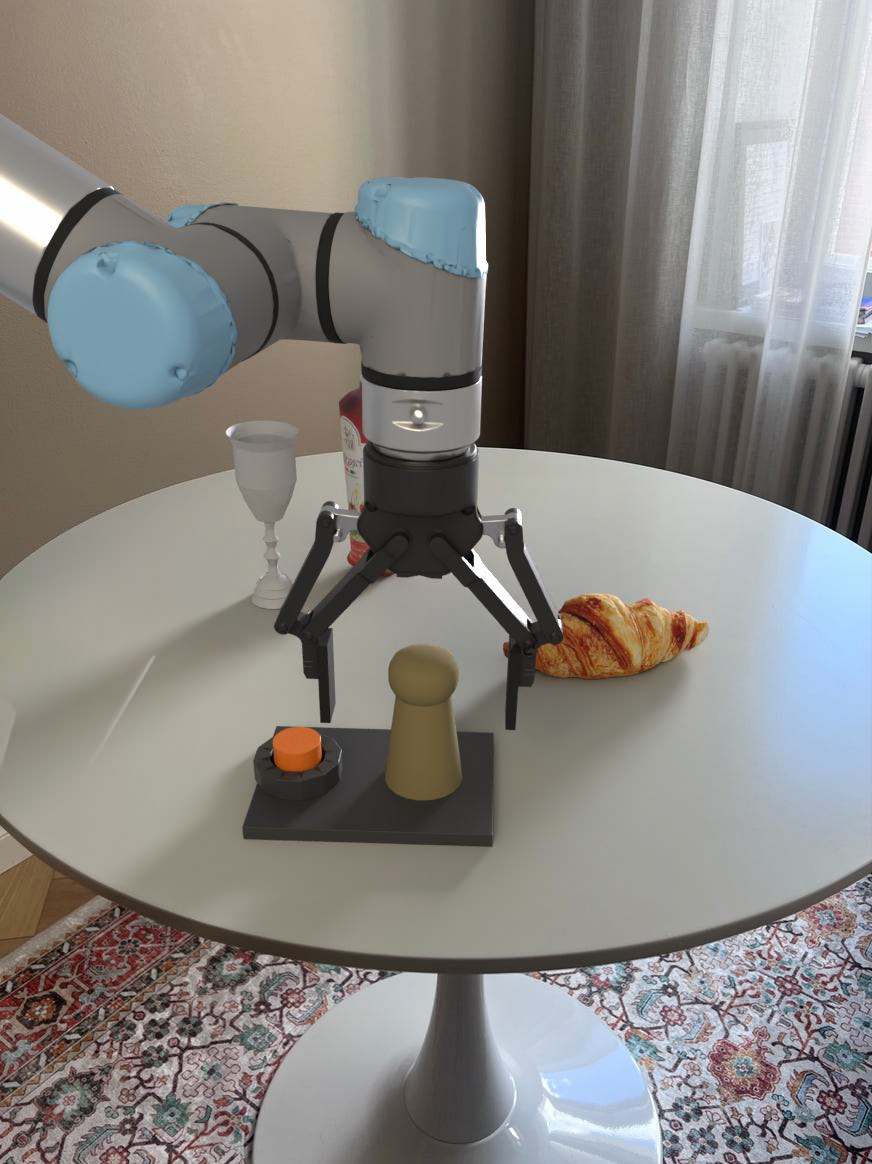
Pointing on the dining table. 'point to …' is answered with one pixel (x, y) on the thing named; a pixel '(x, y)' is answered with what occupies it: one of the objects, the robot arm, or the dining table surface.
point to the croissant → (616, 638)
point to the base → (369, 796)
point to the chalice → (266, 492)
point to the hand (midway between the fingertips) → (419, 717)
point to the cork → (423, 724)
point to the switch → (297, 749)
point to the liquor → (354, 464)
